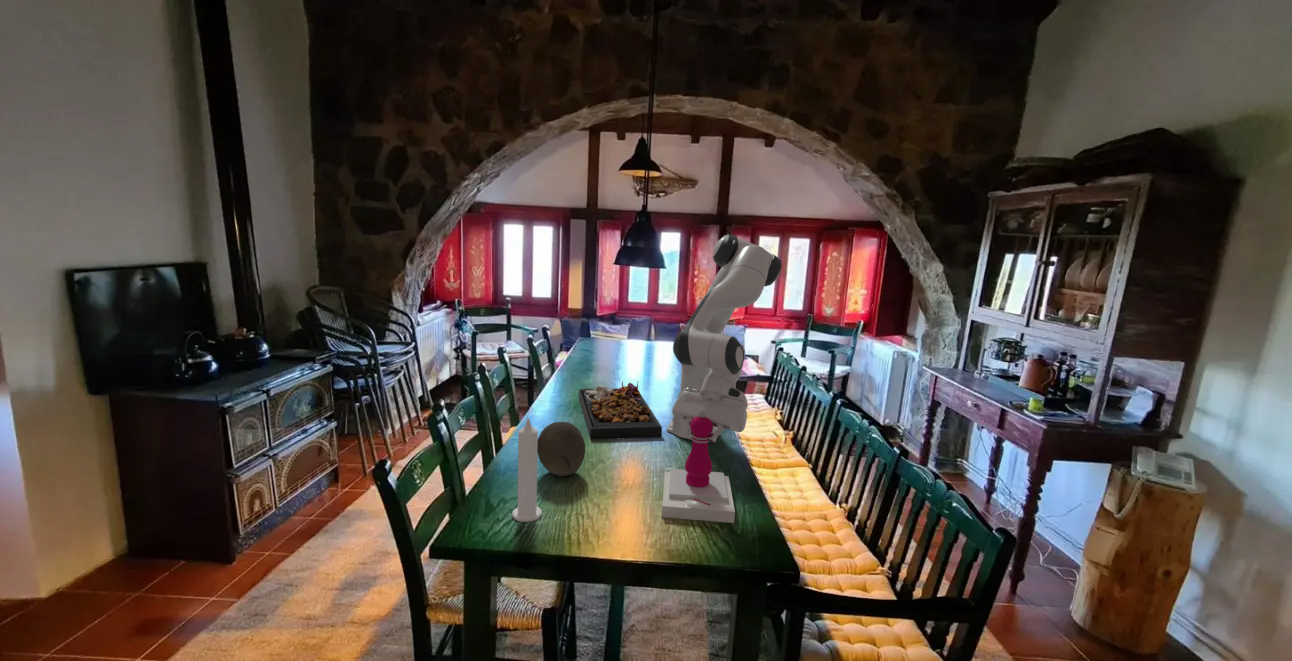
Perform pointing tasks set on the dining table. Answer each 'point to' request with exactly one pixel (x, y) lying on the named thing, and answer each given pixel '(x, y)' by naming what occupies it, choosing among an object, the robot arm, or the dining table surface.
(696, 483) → the pepper mill
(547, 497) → the dining table surface
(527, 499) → the candle
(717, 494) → the kitchen scale
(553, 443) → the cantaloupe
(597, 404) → the food platter
